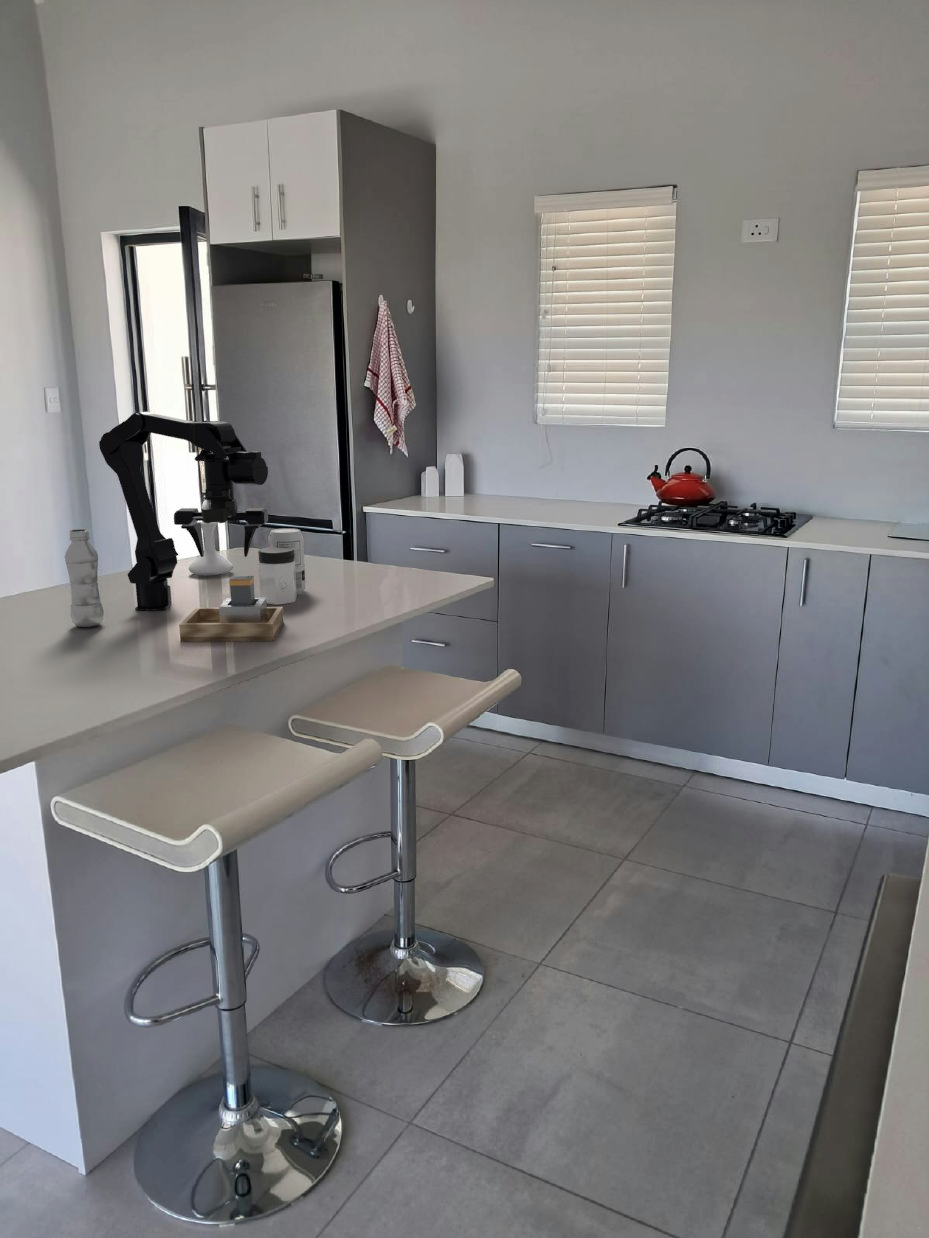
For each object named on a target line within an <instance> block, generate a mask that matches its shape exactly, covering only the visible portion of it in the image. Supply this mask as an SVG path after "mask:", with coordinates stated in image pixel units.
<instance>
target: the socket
mask: <svg viewBox="0 0 929 1238" xmlns="http://www.w3.org/2000/svg"><path fill="white" fill-rule="evenodd" d="M267 607H268V605H267V602H266V598H260V597H255V605H231V597H226V599H224V601H222V603H221V604H220V605H219V613H220V623H267Z"/></svg>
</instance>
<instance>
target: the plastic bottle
mask: <svg viewBox="0 0 929 1238" xmlns="http://www.w3.org/2000/svg"><path fill="white" fill-rule="evenodd" d="M90 538H91V537H90V533H89V529H86V528H77V529H74V528H73V529H70V530H69V541H70V544H69V546H68V547H67V549H66V551H65V554H64V560H65V565H66V569H67V573H68V578H69V583H70V596H71V597H70V601H71V602H70V613H69V615H70V619H71V623H72V624H73V625H75V627H81V628H91V627H95V626H99V625H101V624H102V623H103V621H104V616H105V615H104V614H105V611H104V606H103V603H102V602H101V596H100V590H99V583H98V581H99V580H98V579H99V577H98V570H99V554H98V552H97V550H96V548H95V547H94V546H93V545H92V543H90V542H89V540H90Z"/></svg>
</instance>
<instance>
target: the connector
mask: <svg viewBox="0 0 929 1238" xmlns="http://www.w3.org/2000/svg"><path fill="white" fill-rule="evenodd" d="M229 587H230V588H229V589H230V590H229V591H230V598H231V605H255V598H256V596H255V576H254V575H233V576H232V577H230V579H229Z"/></svg>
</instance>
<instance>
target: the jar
mask: <svg viewBox="0 0 929 1238" xmlns="http://www.w3.org/2000/svg"><path fill="white" fill-rule="evenodd" d="M257 553H258V563H257V566H258V567H257V568H258V582H259V598H266V602H267V604H268V605H275V606H277V605H283V604H285V605H286V604H291V603H292V604H293V603H295V601H296V600H297V595H298V594H297V592H296V568H295V554H294V549H293V548H289V547H269V546H267V547H264V548H260V549H259V550H258V551H257Z"/></svg>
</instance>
